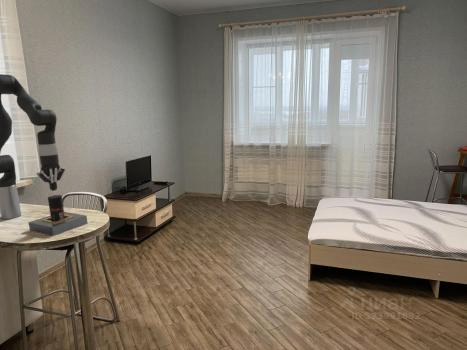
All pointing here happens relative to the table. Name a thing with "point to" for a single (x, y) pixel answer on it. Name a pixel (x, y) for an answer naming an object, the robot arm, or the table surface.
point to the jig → (57, 224)
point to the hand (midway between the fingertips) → (53, 190)
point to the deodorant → (56, 207)
